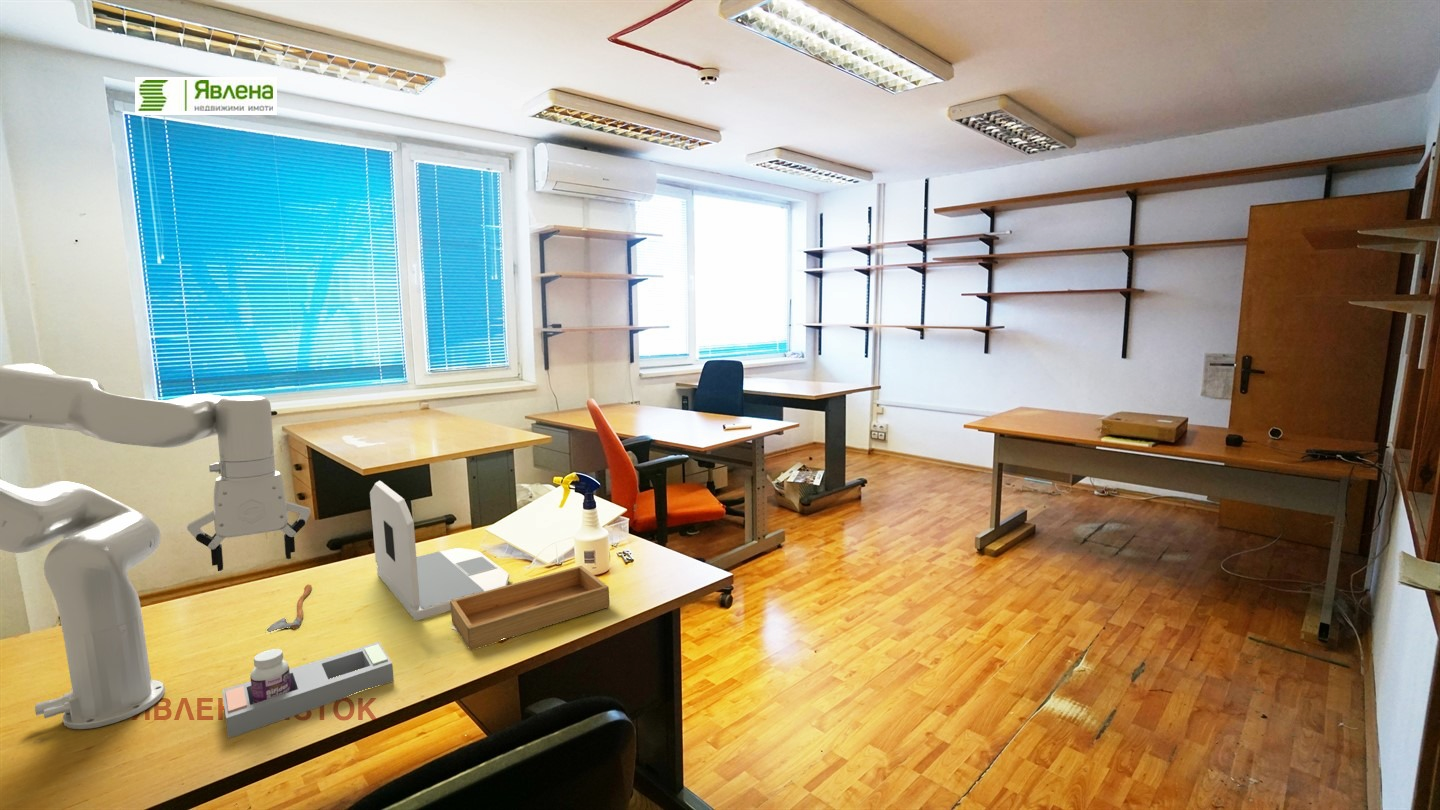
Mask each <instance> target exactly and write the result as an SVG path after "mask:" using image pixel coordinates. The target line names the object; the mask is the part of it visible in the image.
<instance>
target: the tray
mask: <svg viewBox="0 0 1440 810" xmlns="http://www.w3.org/2000/svg"><path fill="white" fill-rule="evenodd" d="M610 604H611V603H610V588H609V586H608V585H607V584H606V583H605V582H603V581H602V580H601V579H599V578H598V577H597V576H596V575H594V574H593V573H592V572H590V570H588V569H587V568H585V566H583V565H579V566H575V567H572V568H567V569H564V570H561V571H560V570H559V571H556V572H553V573H548V574H545V575H542V576H538V577H533V578H530V579H527V580H522V581H518V582H515V583H511V584H508V585H507V586H503V587H499V588H495V589H492V590H488V591H484V592H480V593H477V594H473V595H469V596H465V597H461V598H458V599H454V600H450V605H451V610H450V615H451V622H452V624H453V625H454V627H455V629H456V628H457V629H456V630H457V632H458V634H459V633H460V634H459V635H460V637H461V636H462V637H461V638H462V640H463V641H464V643H465V644H467V645H466V647H467V648H468V647H469V648H468V649H469V650H471V651H474V650H473V649H475V650H477V649H476V648H478V649H480V648H479V647H481V648H484V647H486V646H485V645H487V646H490V645H489V644H491V645H493V644H492V643H494V644H496V643H495V642H497V641H499V640H501V639H503V638H508V637H509V639H511V638H510V637H512V638H514V637H513V636H516V637H518V636H517V635H519V636H521V634H522V635H524V633H525V634H528V633H531V632H534V631H533V630H535V631H537V630H536V629H538V630H540V629H539V628H541V629H543V628H542V627H544V628H546V626H547V627H550V626H552V624H553V625H556V624H559V622H560V623H562V622H561V621H563V622H566V621H568V619H569V620H572V619H575V618H578V617H582V616H584V614H585V615H587V613H588V614H590V612H591V613H594V612H598V611H601V610H604V609H607V608H609V607H610ZM593 611H594V612H593ZM581 615H582V616H581ZM565 620H566V621H565ZM549 625H550V626H549ZM530 631H531V632H530ZM527 632H528V633H527ZM497 643H498V642H497ZM483 646H484V647H483Z"/></svg>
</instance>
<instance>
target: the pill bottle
mask: <svg viewBox="0 0 1440 810" xmlns="http://www.w3.org/2000/svg"><path fill="white" fill-rule="evenodd" d="M253 666H254V668H253V669H252V670H251V672H250V681H251V688H252V698H253V704H255V703H258V702H261V701H264V700H267V699H270V698H273V697H276V696H279V695H282V694H285V693H288V692H291V682H290V672H289V669H290V664H289V663H288V662H287V661H286V660H284V652H283V650H282V649H280V648H272V649H267V650H264V651H261V652H259V653H257V654H256V655H255V656H254V657H253Z"/></svg>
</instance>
